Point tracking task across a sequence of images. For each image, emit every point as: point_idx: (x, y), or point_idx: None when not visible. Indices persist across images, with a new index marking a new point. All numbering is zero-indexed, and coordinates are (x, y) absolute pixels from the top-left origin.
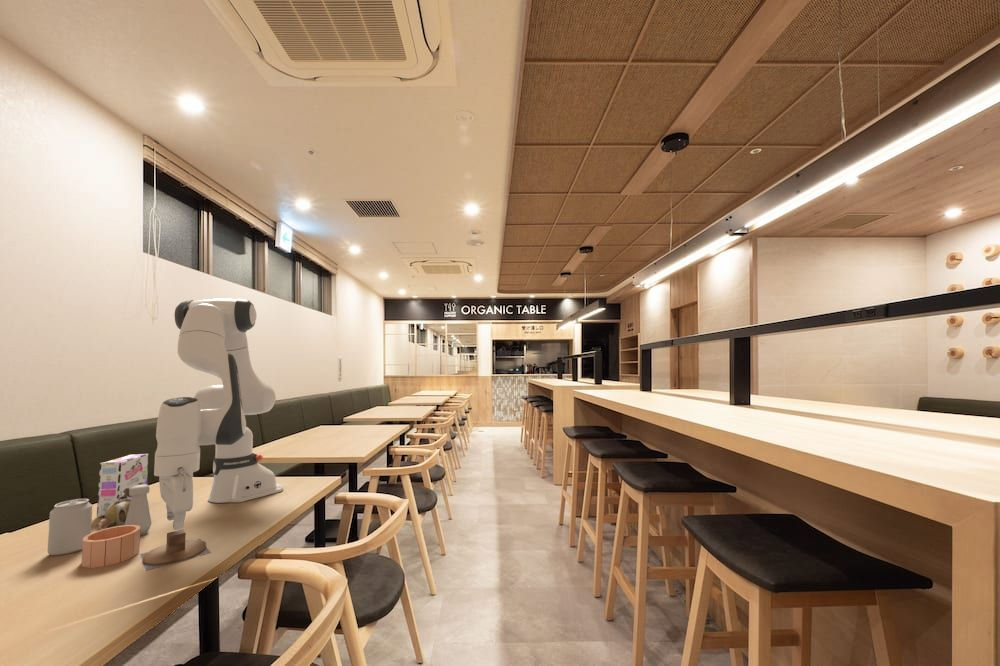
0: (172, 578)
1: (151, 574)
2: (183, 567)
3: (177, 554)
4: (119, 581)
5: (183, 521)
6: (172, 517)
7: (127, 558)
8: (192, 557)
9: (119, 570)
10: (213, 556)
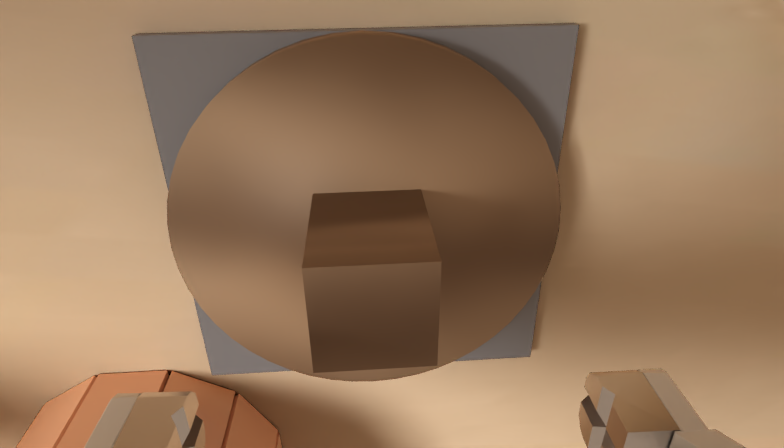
0: (746, 261)
1: (580, 331)
2: (642, 203)
3: (476, 236)
4: (535, 426)
5: (702, 422)
6: (186, 434)
7: (254, 420)
8: (555, 149)
9: (380, 430)
10: (635, 14)
